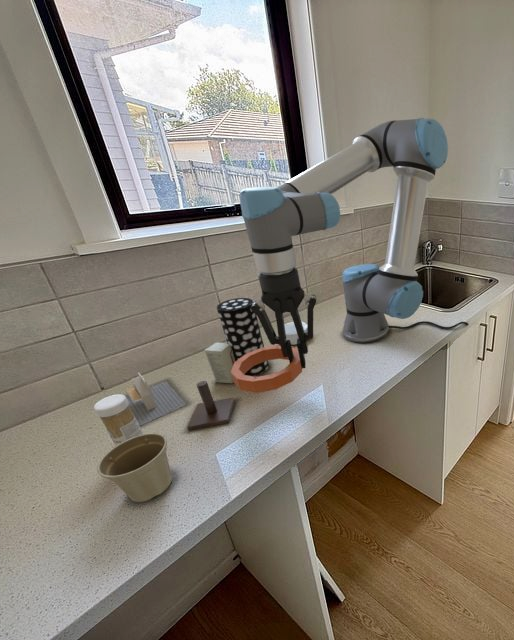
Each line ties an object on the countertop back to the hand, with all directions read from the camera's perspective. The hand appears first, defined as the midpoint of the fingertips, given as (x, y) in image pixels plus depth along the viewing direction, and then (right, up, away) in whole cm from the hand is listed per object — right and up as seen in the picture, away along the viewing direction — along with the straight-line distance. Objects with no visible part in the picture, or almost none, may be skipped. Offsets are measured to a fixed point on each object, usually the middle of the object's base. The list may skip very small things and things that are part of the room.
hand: (298, 365), depth 78 cm
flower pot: (-20, -20, -17) cm, 33 cm away
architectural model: (-38, -10, +3) cm, 39 cm away
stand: (-20, -11, 0) cm, 23 cm away
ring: (-6, -1, -1) cm, 6 cm away
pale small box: (-24, -5, +13) cm, 27 cm away
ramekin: (-13, +4, +32) cm, 35 cm away
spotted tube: (-19, -3, +17) cm, 26 cm away
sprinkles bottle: (-29, -17, -10) cm, 35 cm away
